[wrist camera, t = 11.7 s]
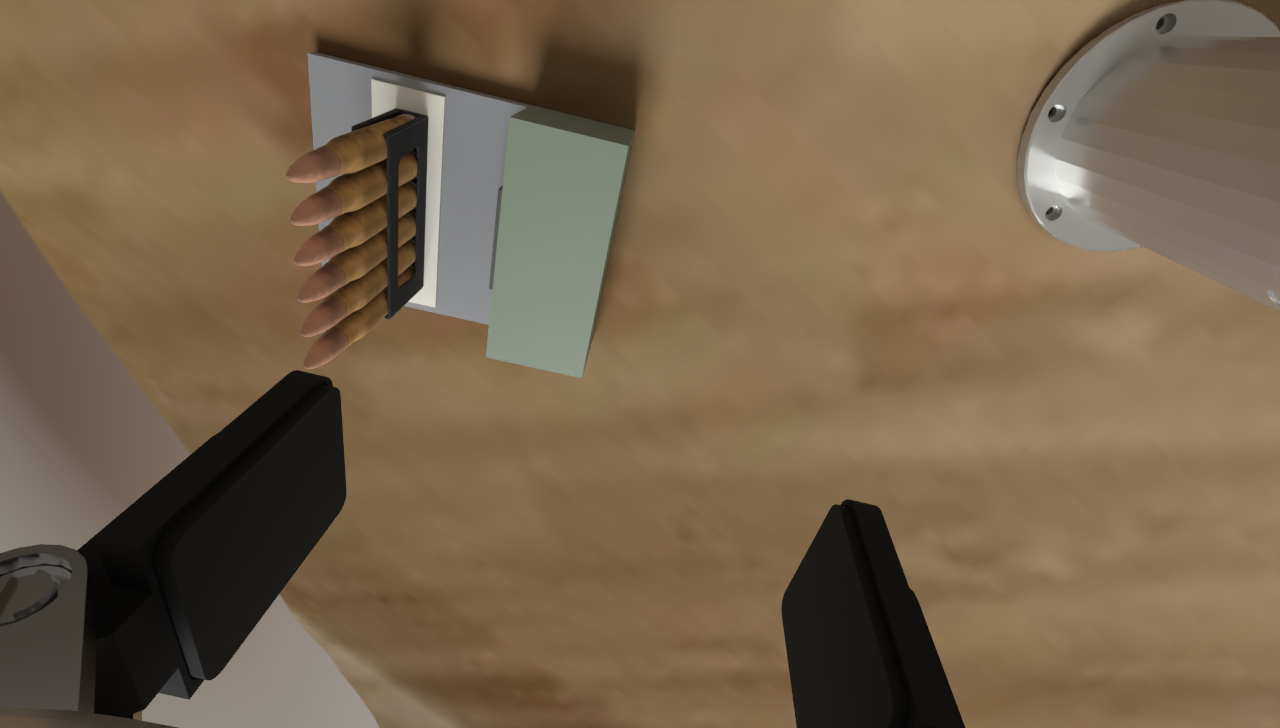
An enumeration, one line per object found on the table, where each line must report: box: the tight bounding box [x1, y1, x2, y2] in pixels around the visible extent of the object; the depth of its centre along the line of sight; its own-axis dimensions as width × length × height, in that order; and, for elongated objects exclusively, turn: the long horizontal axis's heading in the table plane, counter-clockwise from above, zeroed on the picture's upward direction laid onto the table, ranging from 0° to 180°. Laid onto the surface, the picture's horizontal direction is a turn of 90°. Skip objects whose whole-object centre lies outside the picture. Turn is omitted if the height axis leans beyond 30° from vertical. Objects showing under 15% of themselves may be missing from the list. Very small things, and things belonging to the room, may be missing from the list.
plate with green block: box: [308, 52, 635, 378], centre depth 34 cm, size 18×14×5 cm
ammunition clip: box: [286, 108, 429, 369], centre depth 30 cm, size 11×2×12 cm, turn 168°
